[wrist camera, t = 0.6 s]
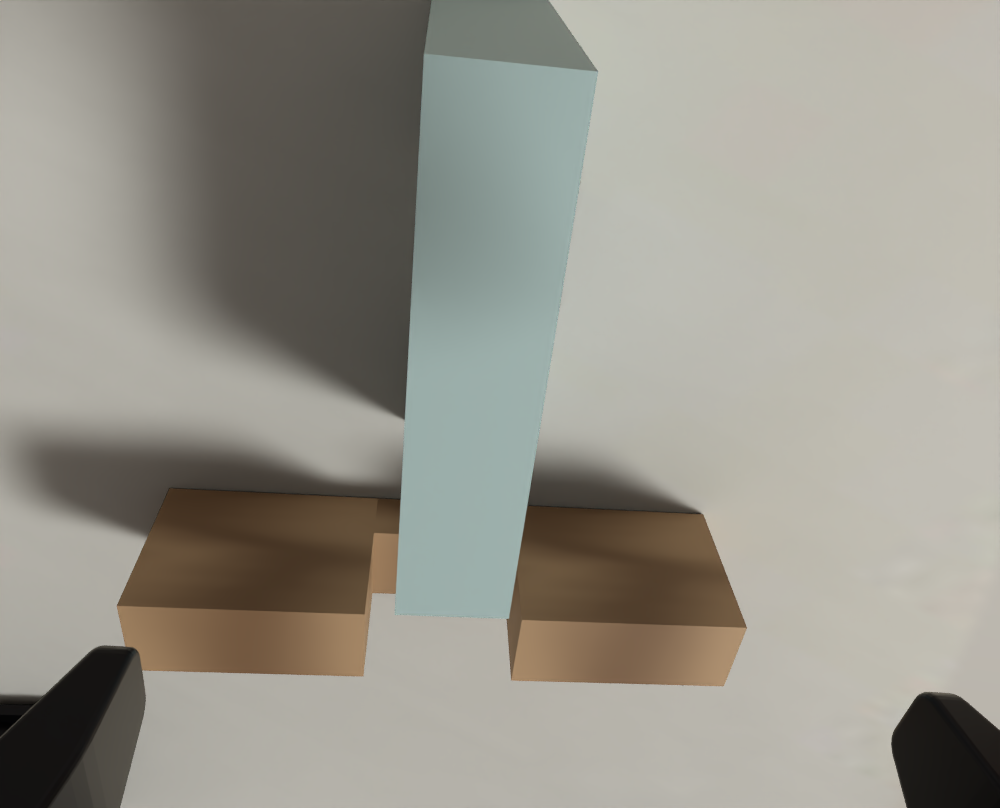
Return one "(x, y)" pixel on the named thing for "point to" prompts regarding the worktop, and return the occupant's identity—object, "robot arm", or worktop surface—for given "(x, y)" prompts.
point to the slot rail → (373, 569)
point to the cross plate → (485, 291)
